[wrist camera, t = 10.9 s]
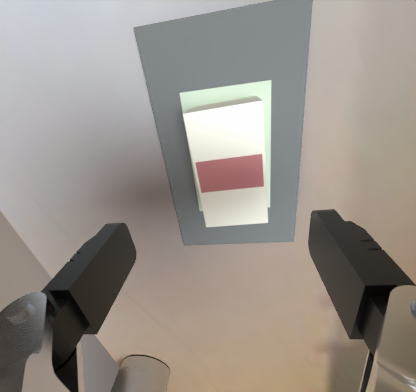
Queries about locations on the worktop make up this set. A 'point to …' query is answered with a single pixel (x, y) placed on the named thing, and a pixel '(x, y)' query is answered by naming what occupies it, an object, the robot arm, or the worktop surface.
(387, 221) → the worktop surface
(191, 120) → the card deck
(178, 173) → the mat
